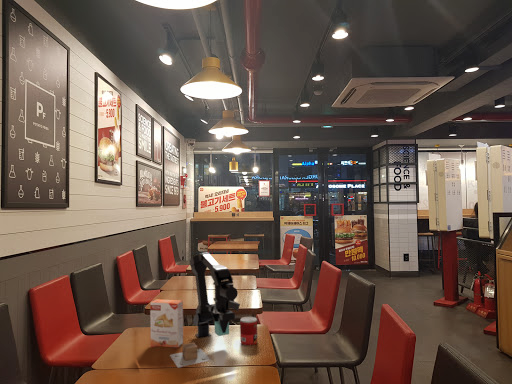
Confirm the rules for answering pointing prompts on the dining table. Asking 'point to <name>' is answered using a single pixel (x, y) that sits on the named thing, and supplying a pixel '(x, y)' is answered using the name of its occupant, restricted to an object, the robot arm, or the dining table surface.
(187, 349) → the walnut cube
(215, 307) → the robot arm
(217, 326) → the teal cube
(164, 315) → the cracker box
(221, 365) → the dining table surface
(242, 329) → the canned food
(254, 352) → the dining table surface
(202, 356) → the plate
